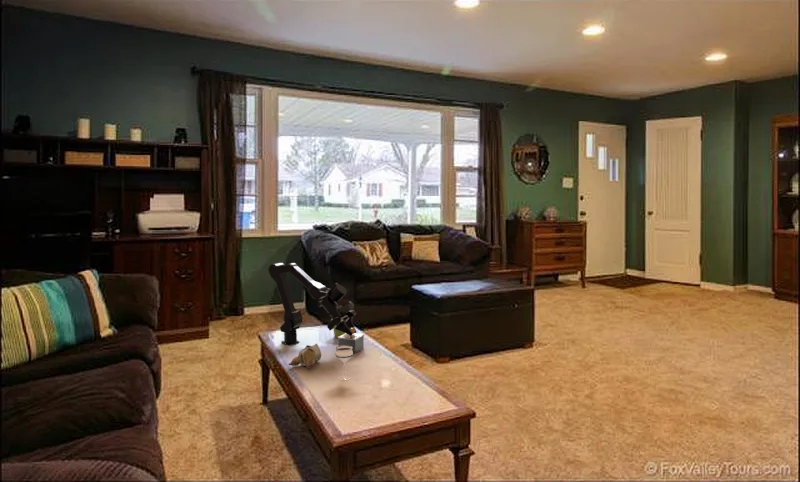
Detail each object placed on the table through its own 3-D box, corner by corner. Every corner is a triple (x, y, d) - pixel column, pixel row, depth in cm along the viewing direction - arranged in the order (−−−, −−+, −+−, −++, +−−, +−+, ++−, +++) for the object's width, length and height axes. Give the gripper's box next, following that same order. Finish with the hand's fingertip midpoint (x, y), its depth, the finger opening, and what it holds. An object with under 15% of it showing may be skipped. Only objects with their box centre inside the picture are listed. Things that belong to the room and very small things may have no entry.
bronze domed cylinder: (345, 348, 232) (345, 328, 231) (349, 346, 235) (349, 326, 234) (352, 349, 230) (352, 329, 230) (356, 346, 234) (356, 327, 233)
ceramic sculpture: (327, 341, 218) (308, 353, 204) (328, 360, 219) (309, 374, 205) (306, 338, 222) (286, 350, 208) (307, 357, 223) (287, 370, 209)
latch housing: (338, 352, 231) (337, 337, 230) (349, 345, 240) (349, 331, 240) (355, 354, 227) (355, 339, 227) (366, 347, 237) (366, 333, 237)
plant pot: (348, 339, 251) (348, 322, 250) (329, 339, 251) (329, 322, 250) (351, 334, 260) (350, 317, 260) (332, 334, 261) (332, 317, 260)
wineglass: (353, 374, 202) (353, 345, 201) (352, 381, 195) (352, 350, 194) (336, 375, 202) (336, 345, 201) (334, 381, 195) (334, 350, 194)
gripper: (332, 300, 224) (355, 327, 220) (352, 293, 241) (373, 318, 238) (317, 316, 227) (339, 343, 224) (338, 308, 244) (358, 332, 241)
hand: (353, 333), depth 232 cm, fingers closed on bronze domed cylinder, 3 cm apart
